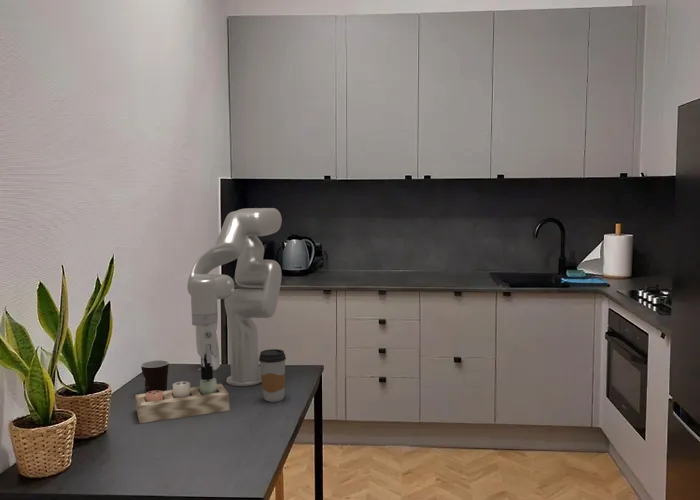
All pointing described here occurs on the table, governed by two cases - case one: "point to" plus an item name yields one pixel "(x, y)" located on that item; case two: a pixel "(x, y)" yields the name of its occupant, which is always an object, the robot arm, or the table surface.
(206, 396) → the beige long block
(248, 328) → the robot arm
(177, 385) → the button cream
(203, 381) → the button sage
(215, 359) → the skyscraper
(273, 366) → the coffee cup
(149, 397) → the pink rounded cylinder
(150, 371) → the coffee mug
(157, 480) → the table surface
